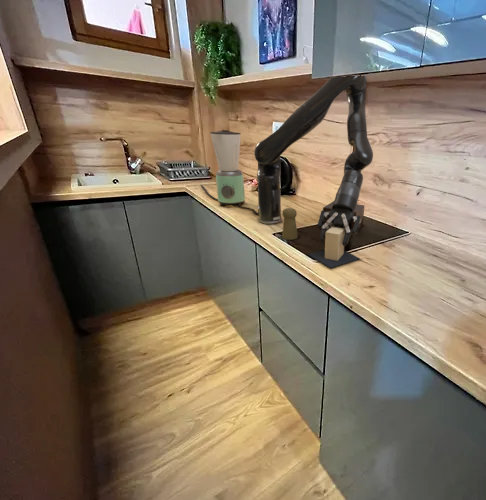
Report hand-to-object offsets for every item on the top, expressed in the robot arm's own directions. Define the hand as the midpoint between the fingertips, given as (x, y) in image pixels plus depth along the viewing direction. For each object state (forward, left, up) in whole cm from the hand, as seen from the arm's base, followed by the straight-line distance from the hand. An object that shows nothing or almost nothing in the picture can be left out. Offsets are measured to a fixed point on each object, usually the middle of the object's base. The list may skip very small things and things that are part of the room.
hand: (332, 242), depth 96 cm
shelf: (-23, +24, -6) cm, 34 cm away
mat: (-1, +1, -6) cm, 6 cm away
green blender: (-81, 0, -6) cm, 82 cm away
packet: (-1, +1, -5) cm, 6 cm away
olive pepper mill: (-25, -1, -6) cm, 26 cm away
